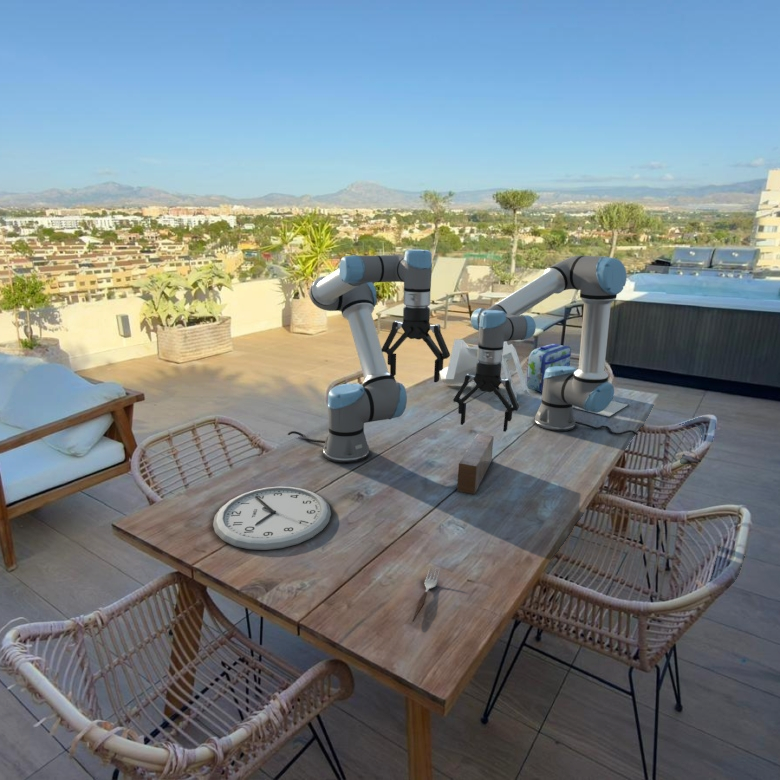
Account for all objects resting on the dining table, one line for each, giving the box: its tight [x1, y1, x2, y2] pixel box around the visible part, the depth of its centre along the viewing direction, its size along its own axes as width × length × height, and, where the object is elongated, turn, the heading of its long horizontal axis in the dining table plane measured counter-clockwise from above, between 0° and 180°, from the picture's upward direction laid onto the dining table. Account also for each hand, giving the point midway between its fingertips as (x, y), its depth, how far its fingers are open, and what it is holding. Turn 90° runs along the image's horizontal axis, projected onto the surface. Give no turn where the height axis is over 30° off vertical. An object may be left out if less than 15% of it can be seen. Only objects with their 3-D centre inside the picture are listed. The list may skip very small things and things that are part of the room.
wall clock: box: [212, 486, 332, 551], centre depth 136 cm, size 30×2×30 cm
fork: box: [412, 565, 441, 623], centre depth 107 cm, size 3×16×2 cm, turn 160°
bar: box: [456, 433, 494, 495], centre depth 160 cm, size 24×5×9 cm, turn 158°
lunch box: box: [526, 343, 572, 394], centre depth 248 cm, size 26×11×21 cm, turn 135°
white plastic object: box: [439, 338, 531, 399], centre depth 245 cm, size 37×45×31 cm
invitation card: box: [573, 400, 629, 418], centre depth 226 cm, size 21×1×15 cm
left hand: (414, 378), depth 154 cm, fingers open, 13 cm apart
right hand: (483, 426), depth 166 cm, fingers open, 13 cm apart
